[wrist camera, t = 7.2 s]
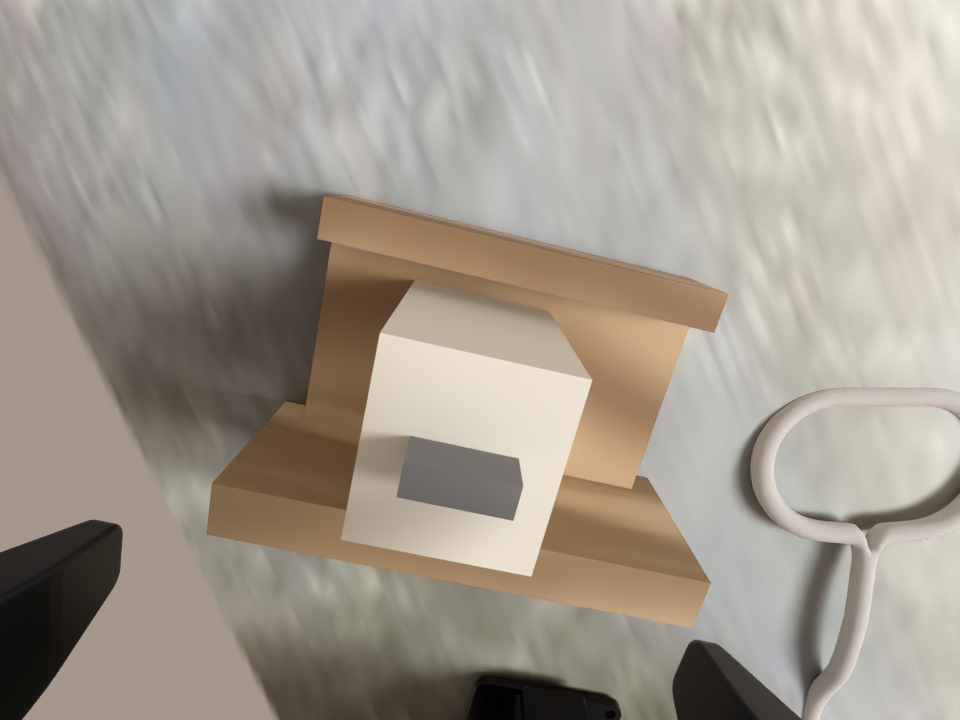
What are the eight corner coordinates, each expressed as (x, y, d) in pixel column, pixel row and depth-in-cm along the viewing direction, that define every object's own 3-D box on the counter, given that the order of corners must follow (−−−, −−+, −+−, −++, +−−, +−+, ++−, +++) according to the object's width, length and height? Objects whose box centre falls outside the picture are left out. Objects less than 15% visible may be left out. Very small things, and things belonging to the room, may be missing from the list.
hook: (696, 789, 26) (724, 372, 23) (894, 788, 26) (946, 372, 24) (780, 983, 19) (836, 414, 16) (1052, 980, 19) (1155, 414, 16)
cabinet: (512, 445, 20) (537, 614, 12) (387, 419, 19) (327, 574, 12) (549, 311, 18) (605, 400, 10) (415, 279, 18) (369, 348, 10)
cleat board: (634, 513, 22) (691, 628, 16) (280, 439, 21) (206, 534, 15) (717, 285, 19) (820, 325, 14) (316, 187, 18) (245, 186, 13)
